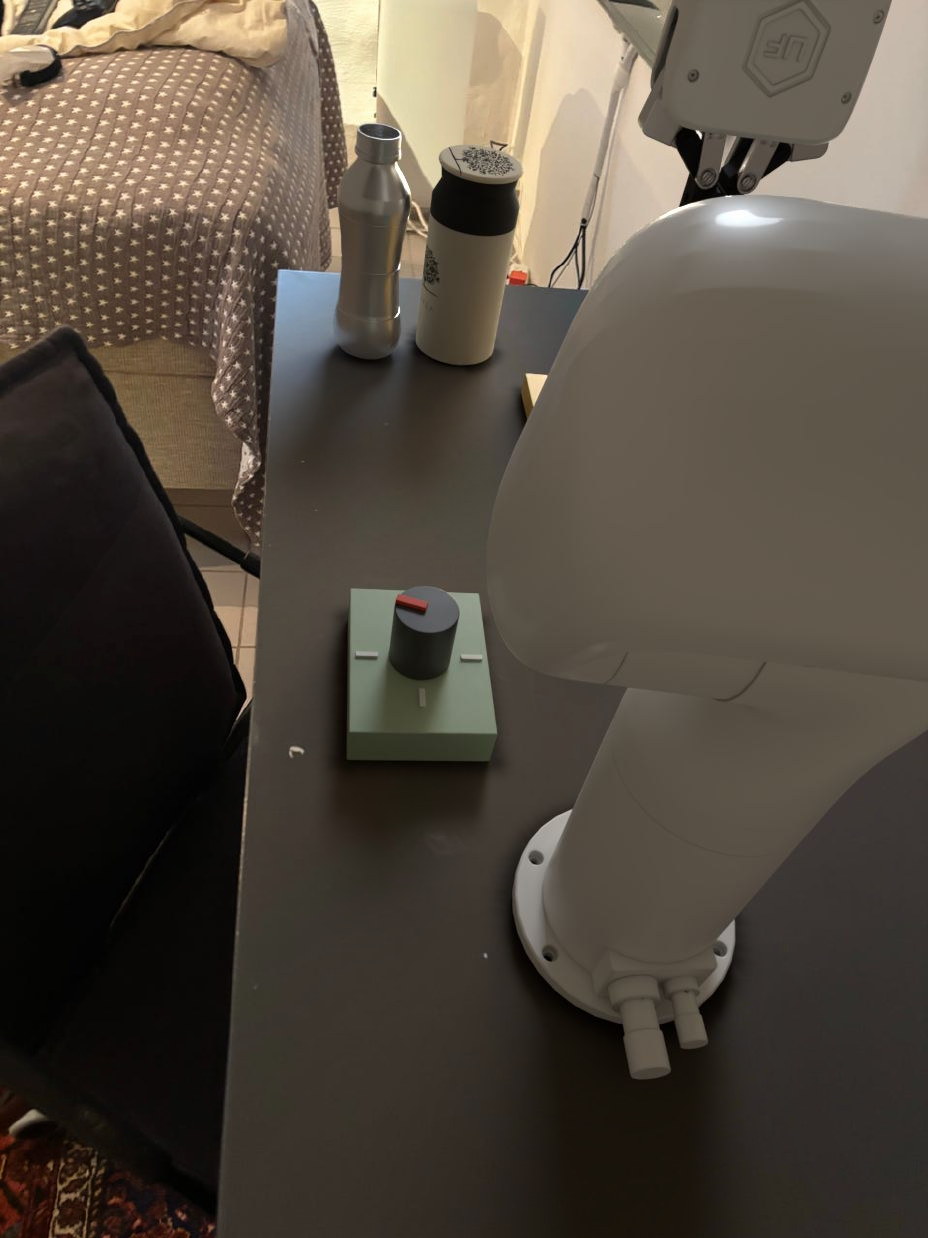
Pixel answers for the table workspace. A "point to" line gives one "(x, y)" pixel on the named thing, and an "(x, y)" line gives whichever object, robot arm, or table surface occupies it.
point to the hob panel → (416, 690)
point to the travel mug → (467, 253)
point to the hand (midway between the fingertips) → (694, 250)
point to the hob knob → (423, 632)
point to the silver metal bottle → (371, 244)
